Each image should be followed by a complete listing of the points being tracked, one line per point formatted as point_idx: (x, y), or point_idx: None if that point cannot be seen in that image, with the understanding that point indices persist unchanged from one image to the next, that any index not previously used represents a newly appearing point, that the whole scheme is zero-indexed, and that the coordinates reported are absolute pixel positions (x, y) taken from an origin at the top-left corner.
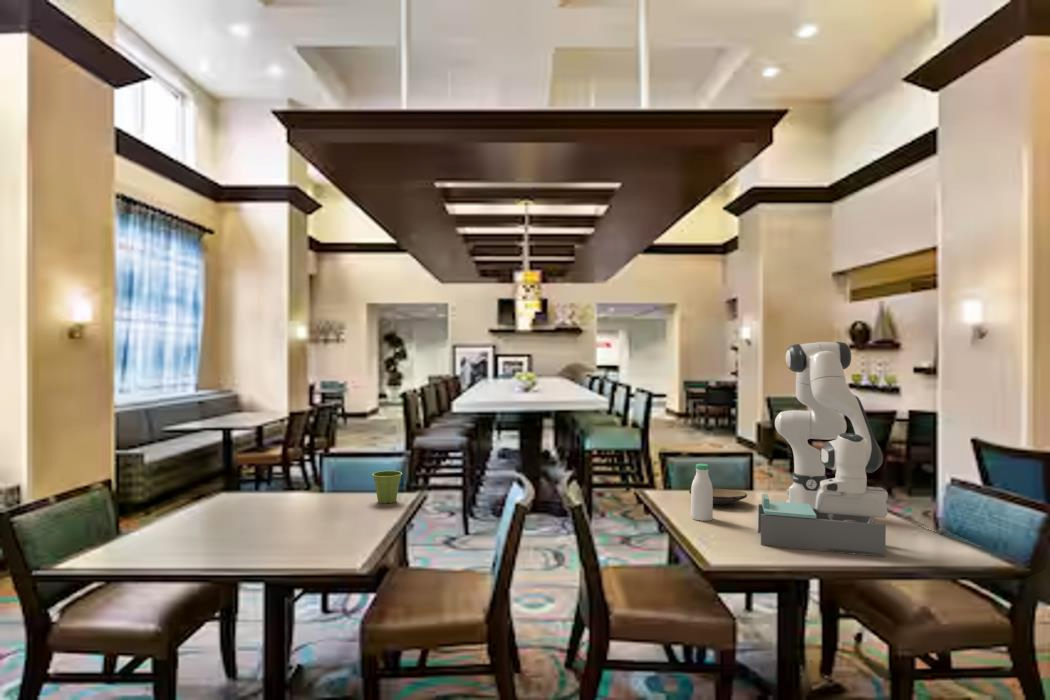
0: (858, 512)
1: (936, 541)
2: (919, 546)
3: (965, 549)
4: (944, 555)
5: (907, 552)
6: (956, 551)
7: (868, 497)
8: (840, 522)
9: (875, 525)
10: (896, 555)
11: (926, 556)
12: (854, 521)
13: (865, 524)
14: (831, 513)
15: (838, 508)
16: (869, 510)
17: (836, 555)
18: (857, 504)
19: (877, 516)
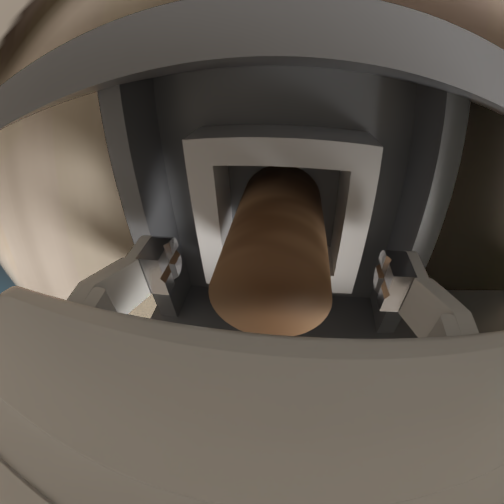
0: (162, 356)
1: None
2: (64, 271)
3: (13, 269)
4: (11, 205)
5: (68, 192)
6: (13, 250)
7: (1, 487)
8: (489, 44)
9: (30, 65)
10: (90, 126)
11: (28, 170)
12: (234, 305)
13: (113, 26)
14: (475, 334)
15: (434, 403)
16: (47, 354)
17: (399, 3)
18: (141, 467)
19: (34, 296)
